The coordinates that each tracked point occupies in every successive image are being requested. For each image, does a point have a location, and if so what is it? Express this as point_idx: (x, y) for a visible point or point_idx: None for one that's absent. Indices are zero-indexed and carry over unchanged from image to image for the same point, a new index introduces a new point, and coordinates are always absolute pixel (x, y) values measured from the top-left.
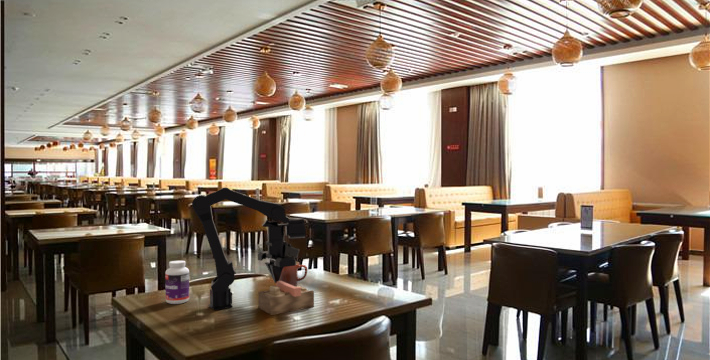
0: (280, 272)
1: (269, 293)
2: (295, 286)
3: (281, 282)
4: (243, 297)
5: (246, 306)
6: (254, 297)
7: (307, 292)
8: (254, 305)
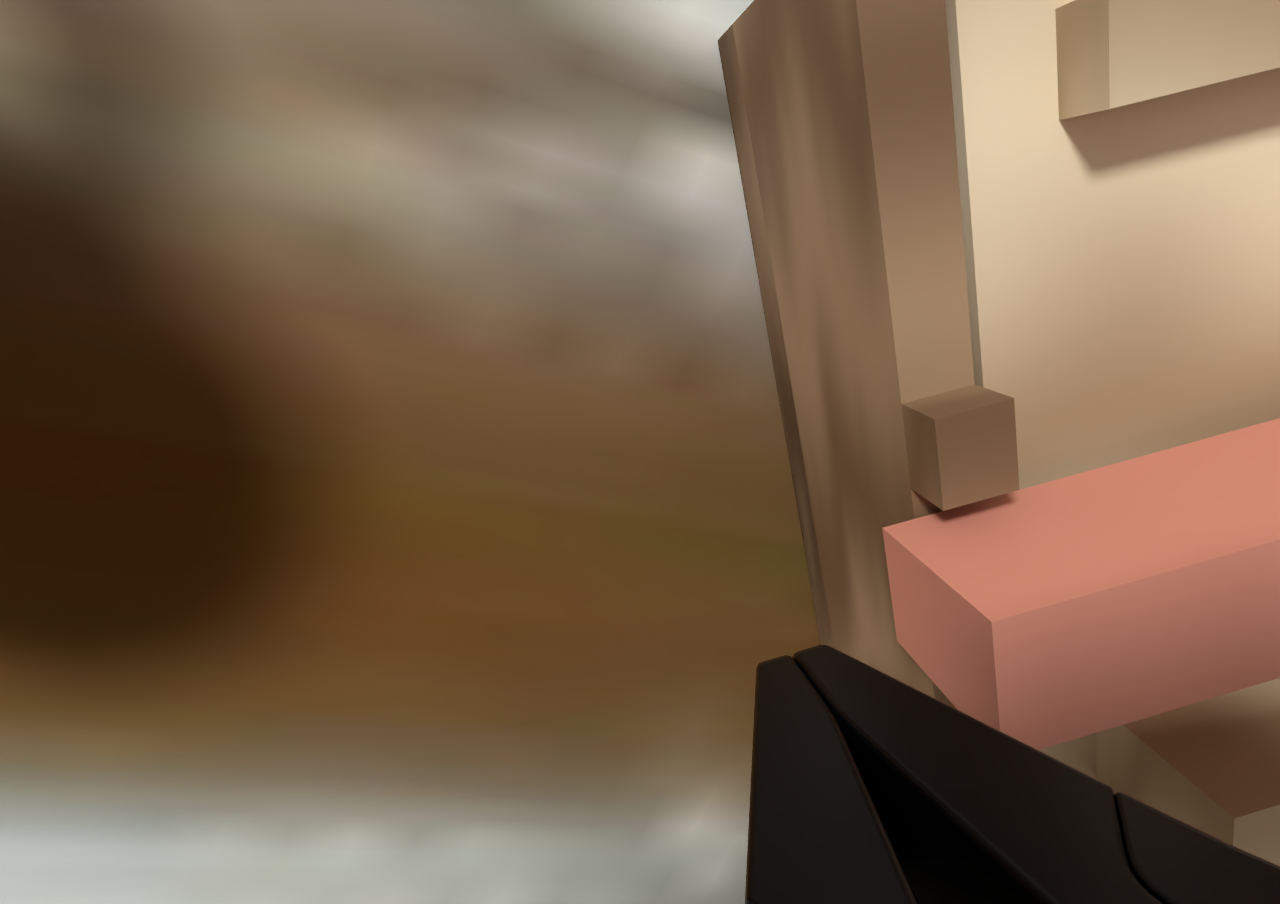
0: (1219, 886)
1: (1113, 785)
2: (930, 104)
3: (1205, 645)
4: (154, 899)
5: (688, 870)
6: (201, 758)
7: None
8: (684, 783)
